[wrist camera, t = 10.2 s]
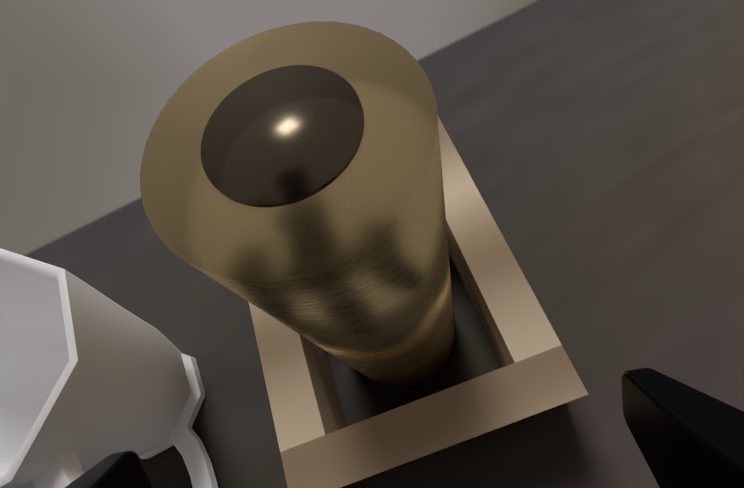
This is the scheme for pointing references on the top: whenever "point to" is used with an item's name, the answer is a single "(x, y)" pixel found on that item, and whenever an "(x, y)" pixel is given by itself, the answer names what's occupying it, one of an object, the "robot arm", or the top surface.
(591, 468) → the top surface
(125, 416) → the cup
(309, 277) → the tan piece
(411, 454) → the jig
